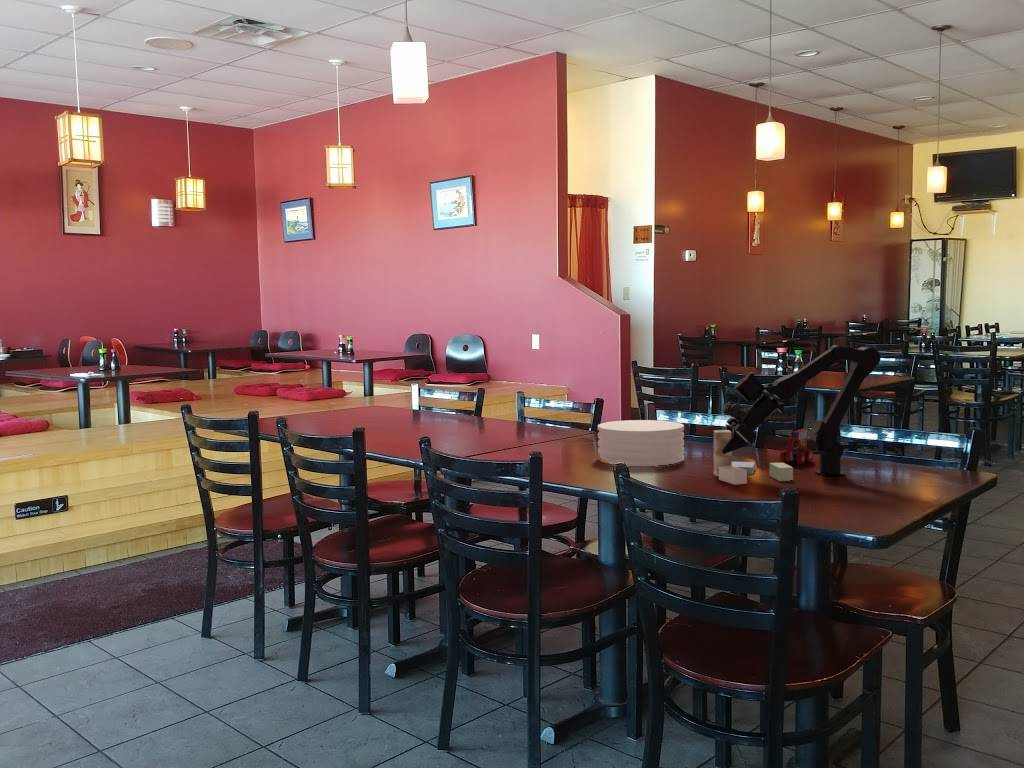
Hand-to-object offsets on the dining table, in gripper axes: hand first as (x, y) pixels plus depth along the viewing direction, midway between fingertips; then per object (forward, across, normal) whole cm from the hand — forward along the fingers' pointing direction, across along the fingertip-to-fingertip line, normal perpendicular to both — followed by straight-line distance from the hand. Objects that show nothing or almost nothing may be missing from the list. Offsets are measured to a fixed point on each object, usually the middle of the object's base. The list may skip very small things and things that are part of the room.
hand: (720, 450), depth 260 cm
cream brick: (+4, +10, +7) cm, 13 cm away
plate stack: (+21, -29, -10) cm, 37 cm away
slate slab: (+1, -6, +10) cm, 12 cm away
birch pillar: (+5, 0, +6) cm, 7 cm away
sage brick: (-6, +6, +17) cm, 19 cm away
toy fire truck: (-14, -20, +24) cm, 34 cm away
